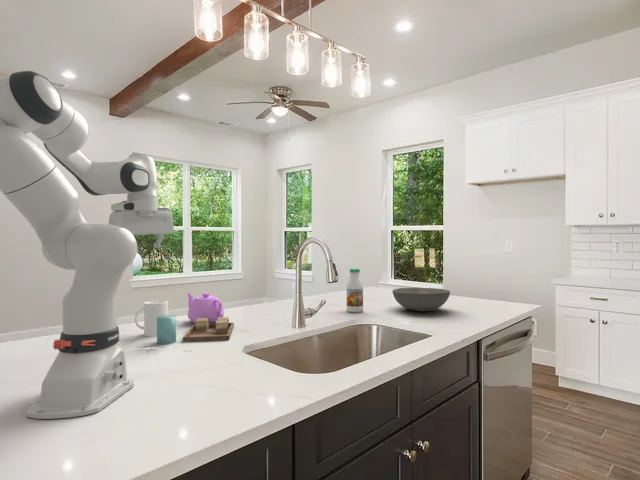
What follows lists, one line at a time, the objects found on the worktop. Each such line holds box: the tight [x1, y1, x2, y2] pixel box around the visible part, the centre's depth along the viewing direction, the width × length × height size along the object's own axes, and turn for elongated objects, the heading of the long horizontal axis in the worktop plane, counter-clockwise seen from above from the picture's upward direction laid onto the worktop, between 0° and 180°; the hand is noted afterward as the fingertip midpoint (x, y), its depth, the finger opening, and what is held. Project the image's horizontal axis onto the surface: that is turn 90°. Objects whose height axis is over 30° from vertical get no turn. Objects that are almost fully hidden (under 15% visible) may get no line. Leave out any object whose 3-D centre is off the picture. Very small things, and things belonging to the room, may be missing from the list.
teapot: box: [185, 291, 225, 324], centre depth 163 cm, size 20×14×12 cm
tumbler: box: [156, 314, 177, 345], centre depth 133 cm, size 6×6×9 cm
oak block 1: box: [196, 318, 208, 332], centre depth 149 cm, size 4×4×4 cm
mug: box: [134, 299, 169, 337], centre depth 144 cm, size 12×8×12 cm
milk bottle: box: [346, 267, 364, 313], centre depth 186 cm, size 8×8×20 cm
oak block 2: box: [218, 316, 230, 330], centre depth 151 cm, size 4×4×4 cm
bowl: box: [392, 287, 451, 312], centre depth 188 cm, size 26×26×10 cm
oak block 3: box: [215, 320, 228, 334], centre depth 146 cm, size 4×4×4 cm
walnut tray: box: [182, 322, 235, 343], centre depth 144 cm, size 20×15×2 cm
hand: (143, 248), depth 129 cm, fingers open, 8 cm apart
